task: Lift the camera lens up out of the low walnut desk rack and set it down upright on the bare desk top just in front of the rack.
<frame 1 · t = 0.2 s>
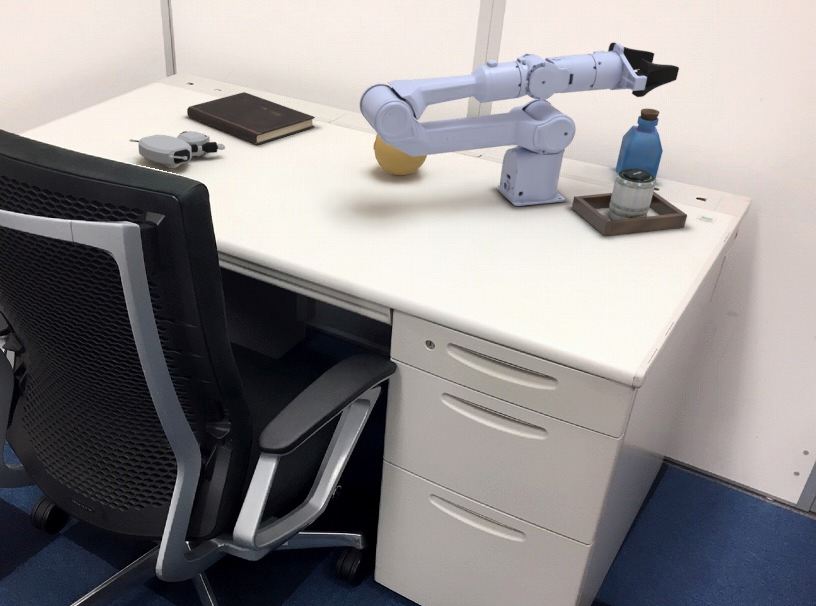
hand: (664, 66, 141), 21 cm above the table, tool horizontal, fingers open, 7 cm apart
camera lens: (626, 218, 143), resting in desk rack
stress ball: (399, 174, 158), on the table
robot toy: (179, 160, 164), on the table
hardcover book: (250, 123, 181), on the table
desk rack: (626, 217, 143), on the table
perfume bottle: (634, 177, 157), on the table
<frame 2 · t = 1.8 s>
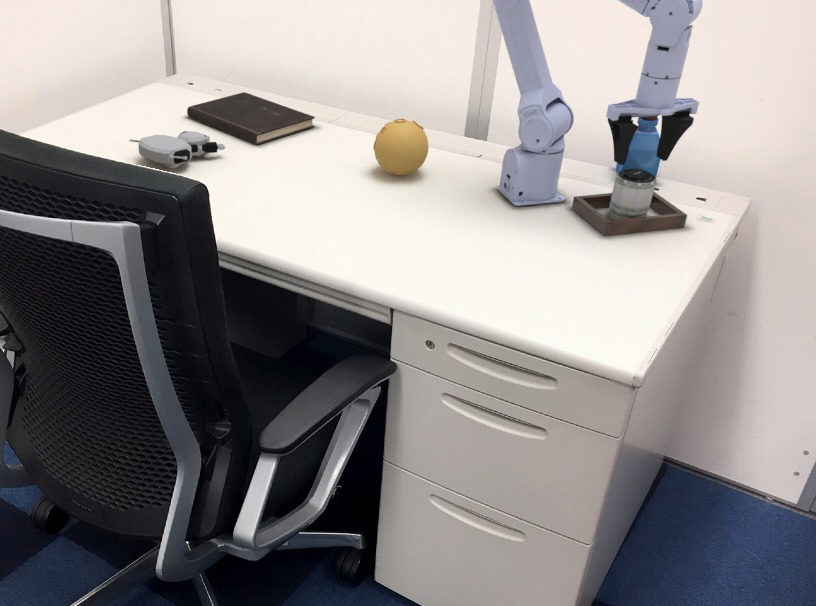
hand: (640, 160, 137), 10 cm above the table, tool pointing down, fingers open, 7 cm apart
nothing on the table moved.
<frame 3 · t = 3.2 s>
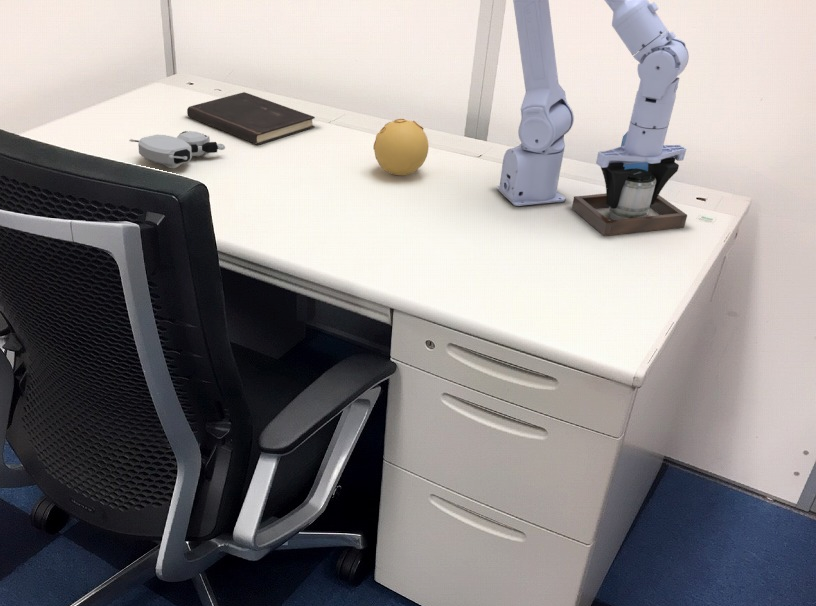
hand: (629, 204, 141), 2 cm above the table, tool pointing down, fingers closed on camera lens, 6 cm apart
camera lens: (626, 218, 143), resting in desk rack, touching gripper
everything else where it was.
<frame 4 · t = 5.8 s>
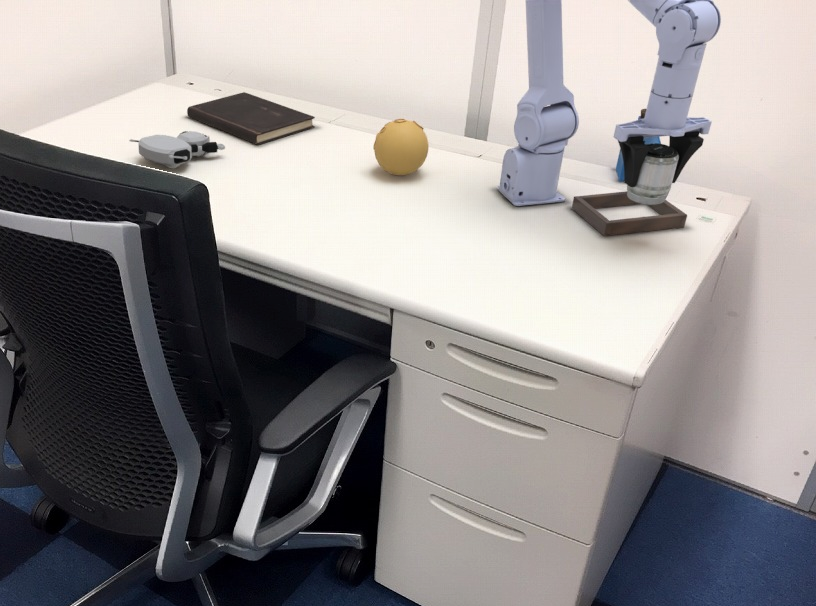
hand: (649, 182, 130), 10 cm above the table, tool pointing down, fingers closed on camera lens, 6 cm apart
camera lens: (645, 198, 131), point 7 cm above the table, touching gripper
everything else where it was.
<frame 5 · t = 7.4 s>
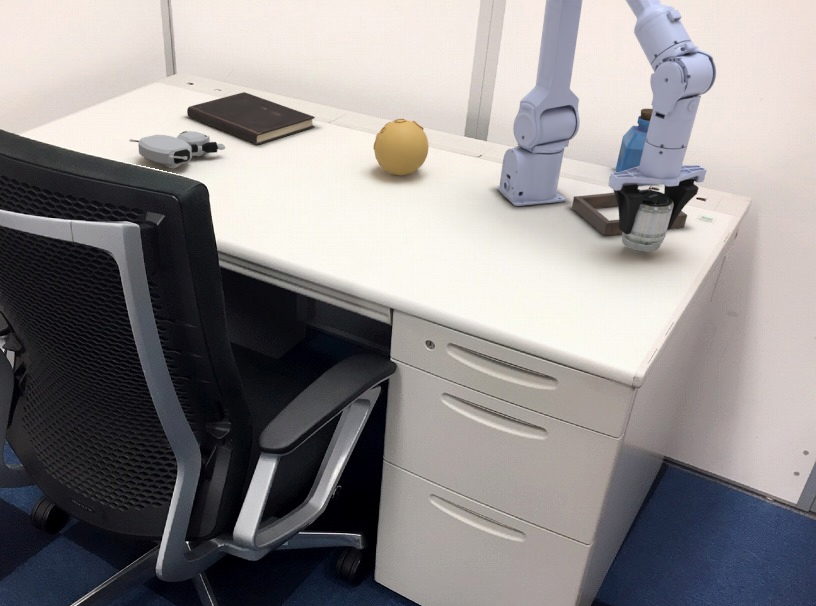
hand: (644, 229, 130), 4 cm above the table, tool pointing down, fingers closed on camera lens, 6 cm apart
camera lens: (640, 244, 131), point 1 cm above the table, touching gripper
everything else where it was.
when the fingers open (2 cm above the table, at t = 8.6 s): camera lens stays where it is, on the table.
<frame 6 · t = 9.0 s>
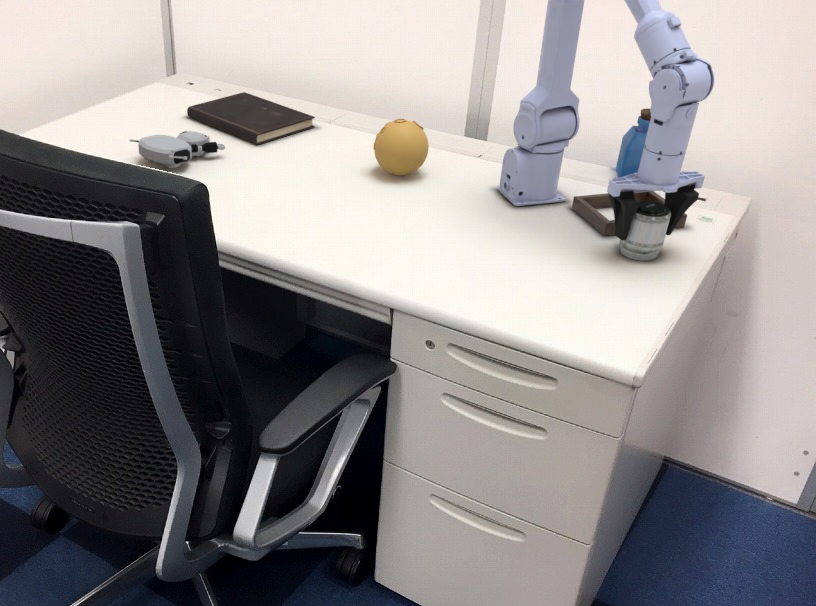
hand: (642, 235, 130), 3 cm above the table, tool pointing down, fingers open, 7 cm apart
camera lens: (638, 253, 132), on the table
everything else where it was.
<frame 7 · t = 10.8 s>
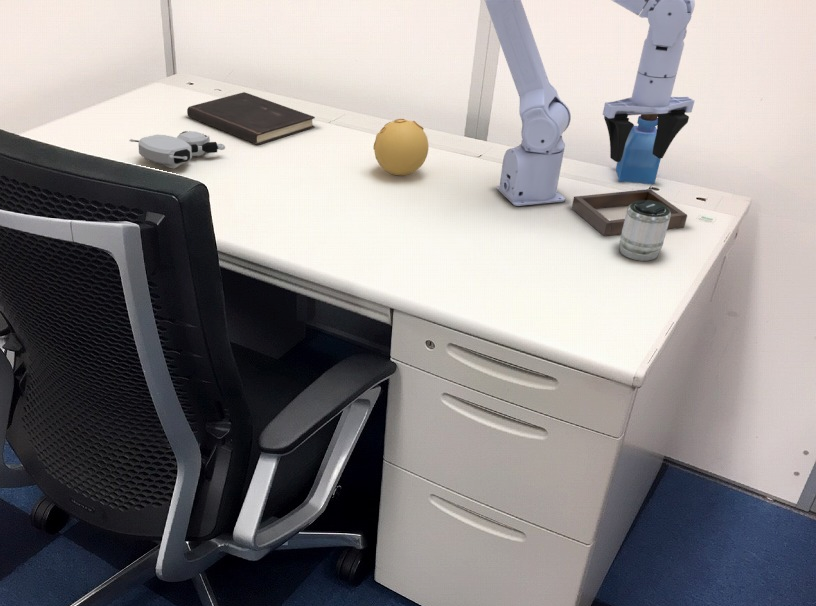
hand: (636, 158, 139), 9 cm above the table, tool pointing down, fingers open, 7 cm apart
nothing on the table moved.
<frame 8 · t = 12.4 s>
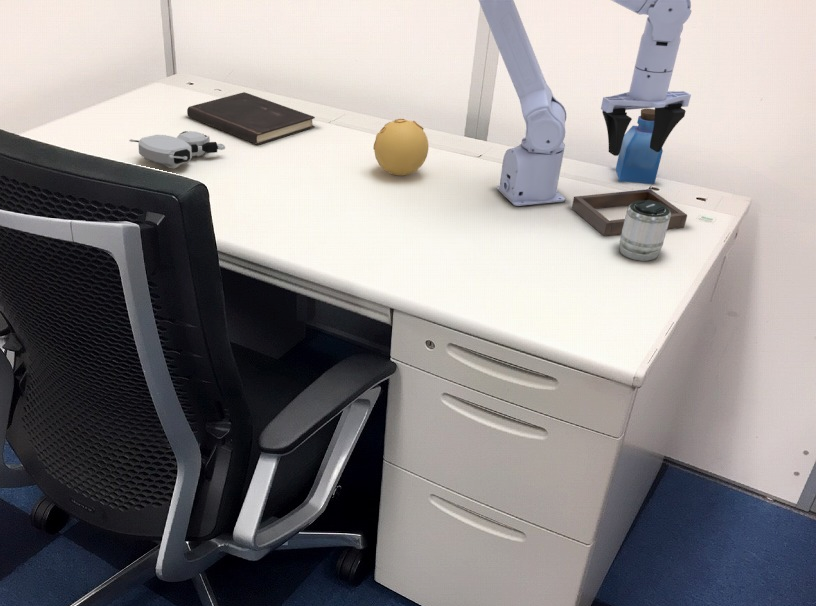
hand: (634, 151, 141), 9 cm above the table, tool pointing down, fingers open, 7 cm apart
nothing on the table moved.
at the end: camera lens inside the target area (0.0 cm from its centre), on the table; camera lens tilted 0°; the gripper is holding nothing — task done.
